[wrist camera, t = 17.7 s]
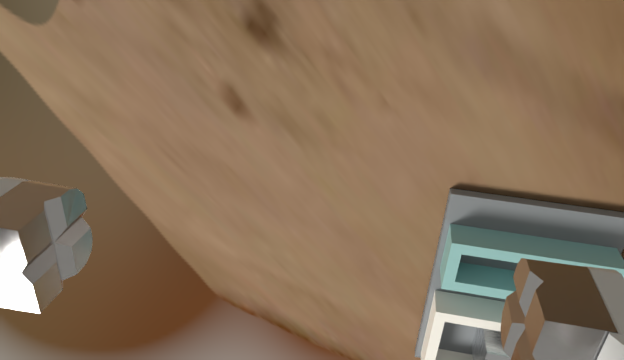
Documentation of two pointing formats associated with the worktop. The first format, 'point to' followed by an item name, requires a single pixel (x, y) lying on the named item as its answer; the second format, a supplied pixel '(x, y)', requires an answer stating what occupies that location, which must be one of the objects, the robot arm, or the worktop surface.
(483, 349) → the steel block
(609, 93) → the worktop surface
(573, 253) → the holder
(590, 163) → the worktop surface
